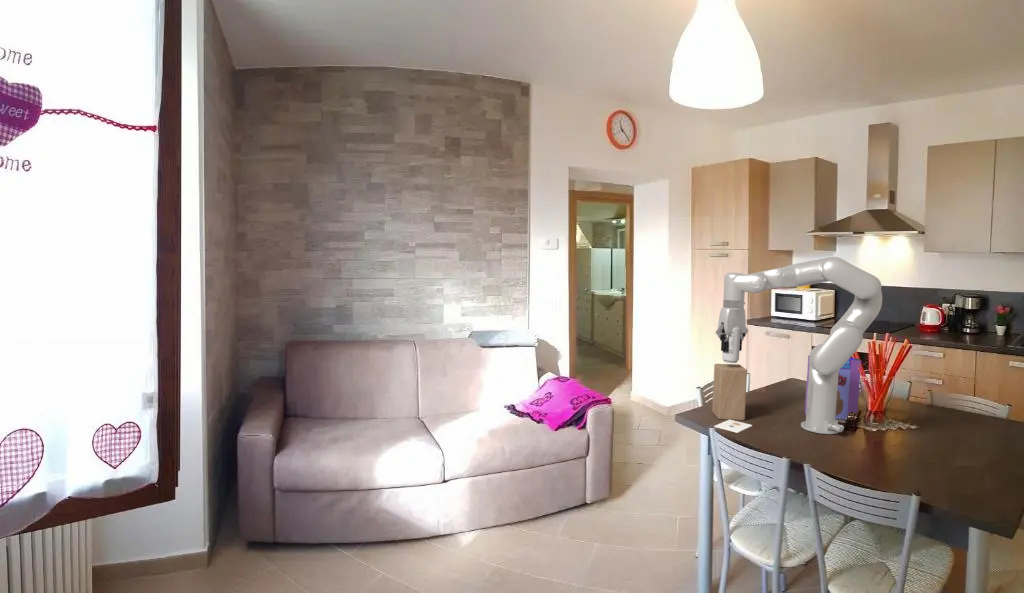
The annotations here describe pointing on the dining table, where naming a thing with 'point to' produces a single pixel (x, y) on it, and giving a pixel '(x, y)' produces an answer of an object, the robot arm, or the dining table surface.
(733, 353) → the energy drink can
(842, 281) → the robot arm
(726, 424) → the white printed card
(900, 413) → the dining table surface
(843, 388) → the cereal box
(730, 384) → the wooden block
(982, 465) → the dining table surface
